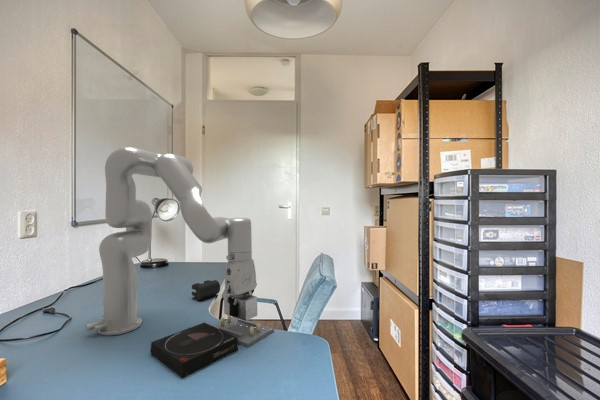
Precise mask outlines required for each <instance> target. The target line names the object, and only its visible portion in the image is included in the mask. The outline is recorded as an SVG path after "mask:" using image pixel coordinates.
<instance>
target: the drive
mask: <svg viewBox="0 0 600 400" xmlns="http://www.w3.org/2000/svg"><path fill="white" fill-rule="evenodd" d="M228 295H229V294H228ZM232 298H233V299H234V296H233V297H232ZM237 304H238V317H235V318H238V319H241V320H244V321H247V320H248V321H250V320H251V319H254V318H255V317H257V316H258V295H257V296H256V295H253V294H252V295H249V294H245V293H244V294H241V295H238V299H237ZM223 314H224V315H226V316H228V315H229V316H230V304H229V303H228V302H227V301H226V300H225V299H224V298H223ZM231 317H233V316H231Z"/></svg>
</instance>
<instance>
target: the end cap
mask: <svg viewBox="0 0 600 400" xmlns="http://www.w3.org/2000/svg"><path fill="white" fill-rule="evenodd" d="M191 289H192V290H195V291H191V296H192V300H194V301H198V302H199V301H202V300H206V299H208V298H212V297H214V296H216V295H218V294H219V293H220V291H221V283H220V282H219V281H218V280H217V279H214V280H210V279H207V280H204V281H203V283H199V282H196V283H193V284H192V285H191Z"/></svg>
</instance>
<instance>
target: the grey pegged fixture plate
mask: <svg viewBox="0 0 600 400" xmlns="http://www.w3.org/2000/svg"><path fill="white" fill-rule="evenodd" d="M230 323H231V324H230ZM235 324H236V325H235ZM240 325H242V326H240ZM212 326H213V327H216V328H218V329H220V330H222V331H224V332H226V333H228V334H231V335H233V336H235V337H237V338H238V345H241V346H243V347H246V348H249V347H252V345H254V344H256V343H258V342H259V341H261V340H262V339H264V338H265V337H267V336H269V335H270V334H272V333H274V332H275V331H274V329H275V328H274V327H271V326H268V325H265V324H261V323H260V322H254V321H251V320H247V321H244V320H241V319H238V318H235V317H232V316H229V315H227V319H225V317H220V322H218V323H216V324H214V325H212ZM246 326H248V327H246ZM254 327H256V328H254ZM262 328H264V329H262ZM270 329H272V330H270Z"/></svg>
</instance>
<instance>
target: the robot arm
mask: <svg viewBox="0 0 600 400" xmlns="http://www.w3.org/2000/svg"><path fill="white" fill-rule="evenodd" d="M193 172H194V166H193V164H192V162H191V161H190V160H189V159H188V158H186V157H185V156H181V155H178V154H175V153H164V154H162V153H156V152H152V151H148V150H146V149H143V148H139V147H134V146H122V147H119V148H117V149H115V150H114V151H112V152H111V153H109V155H108V156H107V158H106V160H105V165H104V177H105V187H106V188H105V214H104V215H105V221H106V224H107V225H108V226H109V227H110V228H115V229H125V231H118V232H114V233H110V234H108V235H107V236H105V237H103V239H102V240H101V242H100V244H99V247H98V248H99V249H98V251H99V258H100V261H101V267H102V296H103V297H102V307H103V308H102V312H103V313H102V316H99V319H97V320H96V321H95V322H90V323H88V324H85V325H84V327H85V331H86V332H89V331H92V330H94V331H96V332H97V333H98V335H101V336H117V335H123V334H126V333H129V332H132V331H134V330H136V329H138V328H139V327H140V326H141V325H142V323H143V320H142V318H141V317H140V316H138V305H137V304H138V303H137V302H138V299H137V298H138V296H137V295H138V292H137V290H138V288H137V287H138V286H137V285H138V284H137V283H138V282H137V281H138V278H137V268H136V265H135V263H134V260H133V258H137V257H139V256H143V255H145V254H146V253H147V252H148V251H149V250H150V248H151V244H152V239H153V238H152V237H153V236H152V233H153V232H152V229H153V215H152V214H153V213H152V210H151V209H152V208H151V207H150V206H149V204H148V203H147V202H145V201H143V200H140V199H137V195H136V194H137V186H136V183H135V181H134V180H135V179H134V178H133V175H141V176H146V177H154V178H160V179H161V180H162V181H163V183H164V184H165V185H166V186H167V188H168V189H169V190H170V191H171V193H172V195H173V196H174V198H175V199H176V200H177V201H178V203H179V210H180V211H181V212H180V213H181V215H182V218H183V220H184V223H186V225H187V227H188V228H189V229H190V231H191V232H192V234H193V235H194V236H195V237H196V238H197V239H198V240H199V241H201V242H202V243H206V244H213V243H216V242H219V241H222V240H226V239H227V255H226V260H227V262H226V264H225V265H226V266H225V274H224V290H223V292H222V294H221V298H222V299H223V300H224V299H225V300H226V301H227V302H228V303H229V304H230V316H231V317H232V316H233V317H238V304H237V299H238V295H241V294H244V293H245V294H249V295H253V294H254V292H255V289H256V288H257V285H258V283H257V275H256V265H255V261H254V259H253V255H252V253H253V252H252V239H253V237H252V221H251V219H250V218H248V217H232V218H229V217H223V216H220V217H219V216H217V217H213V216H212V215H211V214H210V213H209V211H208V210H207V209H206V207H205V206H204V203H203V201H202V192H203V187H202V185H201V184H200V183H199V181H198V180H197V179H196V178H195V176H194V175H193ZM228 294H229V295H228ZM233 296H234V299H233V298H232V297H233Z"/></svg>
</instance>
